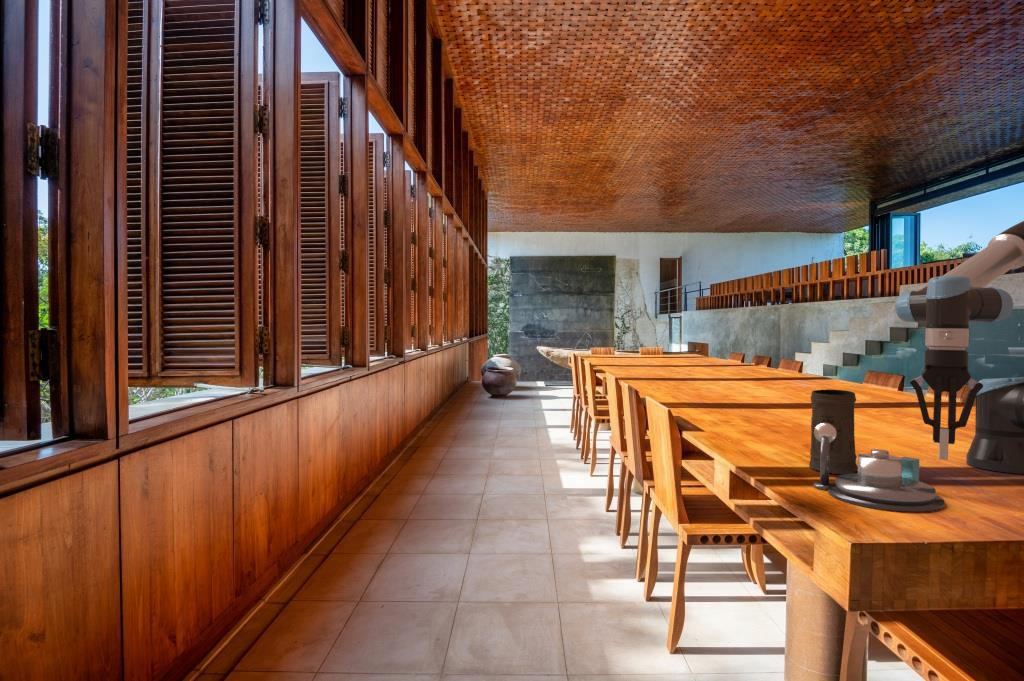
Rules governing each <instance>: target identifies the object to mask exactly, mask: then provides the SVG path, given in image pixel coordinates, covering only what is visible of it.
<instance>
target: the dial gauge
mask: <svg viewBox="0 0 1024 681" xmlns="http://www.w3.org/2000/svg"><path fill="white" fill-rule="evenodd" d="M814 435H815V437H816V439H817V440H818V441H820V442H821V447H820V471H819V481H816V482H815V481H814V482H813V488H814V487H815V488H814V489H816V488H817V490H819V489H820V491H827V492H828V487H829V485H830V487H835V484H832V483H833V482H830V474H829V452H830V442H832V441H833V440H834V439H835V438H836V435H837V432H836V429H835V428H834V426H833V425H831V424H829V423H821V424H819V425H817V426H816V427H815V429H814ZM832 485H833V486H832Z"/></svg>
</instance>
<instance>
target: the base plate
mask: <svg viewBox="0 0 1024 681" xmlns="http://www.w3.org/2000/svg"><path fill="white" fill-rule="evenodd" d="M831 483H832V484H835V482H831ZM832 486H833V485H832ZM827 493H828V494H829V495H830V496H831V497H832V498H835V499H836V500H839V501H841V502H845V503H848V504H850V505H854V506H859V507H864V508H867V509H872V508H873V509H874V510H878V509H879V511H885V510H886V511H887V512H893V511H897V512H896V513H906V512H926V513H932V512H931V511H935V512H937V511H936V510H939V511H941V510H940V509H942V508H943V509H944V508H945V507H944V506H945V503H946V502H945V500H944V498H943V497H941V496H939V495H937V494H936V501H935V502H934V503H932V504H929V505H922V506H900V505H889V504H881V503H875V502H869V501H864V500H860V499H856V498H853V497H849V496H847V495H844V494H842V493H840V492H838V491H837V490H836V488H835V487H830V485H829V487H828V491H827ZM943 509H942V510H943ZM886 511H885V512H886Z"/></svg>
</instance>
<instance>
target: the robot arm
mask: <svg viewBox="0 0 1024 681" xmlns="http://www.w3.org/2000/svg"><path fill="white" fill-rule="evenodd" d="M1022 267H1024V220H1022V221H1020V222H1018V223H1016V224H1015V225H1013V226H1010V227H1009V228H1007V229H1005V230H1003V231H1002V232H1001V233H999V234H997V235H996V236H994V237H993V238H991V240H989V242H988V244H987V246H986V247H985V248H983V249H982V250H980V251H978V252H977V253H976V254H974V255H972V256H970V257H969V258H968V259H966V260H965V261H963V262H961V263H959V265H957V266H956V267H953V269H951V270H949V271H948V272H946V273H945V274H943V275H942V276H934V277H931V278H930V279H928V280H927V286H925V287H923V288H921V289H919V290H910V291H905V292H902V293H900V294H899V296H898V297H897V298H896V301H895V305H894V307H895V308H894V310H895V311H896V312H895V313H896V315H897V317H898V318H899V319H900V320H901V321H903V322H909V323H917V324H918V323H919V324H920V323H926V324H925V339H924V340H925V342H924V344H925V347H927V349H926V350H924V368H923V371H922V372H921V375H920V376H918V377H916V378H912V379H911V380H910V381H909V384H910V385H911V386H912V387H913V389H914V390H915V393H916V396H917V397H916V398H917V402H918V405H919V409H920V413H921V417H922V421H923V424H925V425H928V426H930V427H931V428H932V441H933V443H936V444H937V443H938V459H939V460H944V461H948V460H949V444H950V445H955V443H956V430H958V428H959V429H960V428H964V427H966V426H967V424H968V421H969V418H970V415H971V412H972V410H973V406H974V403H975V420H974V421H975V423H974V424H975V425H974V426H975V427H974V428H975V431H974V432H975V434H974V437H973V439H972V442H971V443H970V446H969V449H968V450H967V451H968V452H967V453H966V460H965V461H966V463H965V464H967V465H969V466H970V467H974V468H977V469H982V470H986V471H987V470H988V471H993V472H1002V473H1007V474H1008V473H1009V474H1010V473H1011V474H1019V475H1021V474H1023V475H1024V377H1023V376H1020V377H1000V378H995V377H994V378H983V379H980V380H978V381H977V380H975V379H974V378H971V373H969V369H968V368H969V352H968V350H966V348H968V347H969V339H970V338H969V337H970V336H969V332H970V329H969V328H970V323H988V324H989V323H995V322H1001V321H1003V320H1006V319H1007V318H1008V317H1009V316H1010V315H1011V313H1012V311H1013V310H1014V309H1013V308H1014V300H1013V297H1012V296H1011V294H1010V293H1009V292H1008V291H1006V290H1004V289H1001V288H997V287H996V288H995V287H992V286H990V287H986V286H987V285H989V284H990V283H992V282H994V281H995V280H997V279H998V278H1000V277H1001V276H1002V275H1004V274H1006V273H1007V272H1009V271H1010V270H1017V269H1019V268H1022ZM924 382H925V383H926V384H928V386H929V388H931V390H933V413H932V414H933V415H932V417H933V418H932V419H931V418H930V416H929V411H928V408H927V407H928V406H927V403H926V400H925V395H924V391H923V388H922V387H924ZM967 383H968V385H967V388H968V389H969V390H968V392H967V394H966V397H965V401H964V403H963V407H962V410H961V412H960V416H959V419H958V420H956V419H957V395H958V393H957V392H959V391H960V390H961V389H963V387H964V386H965V385H966V384H967ZM944 392H946V393H948V394H947V395H948V402H947V403H948V404H947V409H948V410H947V427H943V426H941V423H942V422H941V421H942V419H941V418H942V395H943V393H944Z"/></svg>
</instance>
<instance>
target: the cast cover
mask: <svg viewBox="0 0 1024 681" xmlns="http://www.w3.org/2000/svg"><path fill="white" fill-rule="evenodd" d="M857 473H858V483H860V484H862V485H866V486H870V487H875V488H884V489H897V488H901V487H902V459H901V457H898V456H895V455H889V450H886V449H877V448H873V449H871V450H870V452H869V453H868V452H867V453H858V455H857Z"/></svg>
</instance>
